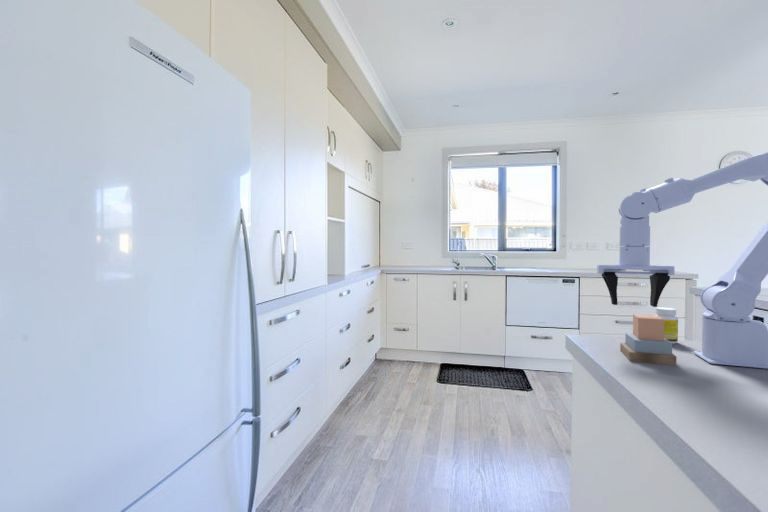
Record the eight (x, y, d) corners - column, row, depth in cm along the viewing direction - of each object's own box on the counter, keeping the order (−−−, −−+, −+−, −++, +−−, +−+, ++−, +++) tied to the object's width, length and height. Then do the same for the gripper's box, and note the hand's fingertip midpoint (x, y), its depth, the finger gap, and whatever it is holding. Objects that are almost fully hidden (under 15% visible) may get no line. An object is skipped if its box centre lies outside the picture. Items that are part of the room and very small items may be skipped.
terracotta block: (657, 336, 78) (657, 315, 78) (664, 341, 74) (664, 319, 73) (632, 334, 79) (633, 314, 79) (638, 338, 75) (638, 317, 75)
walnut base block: (662, 357, 79) (662, 346, 79) (676, 368, 71) (676, 356, 71) (620, 353, 82) (620, 342, 82) (629, 363, 74) (629, 352, 74)
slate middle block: (659, 346, 78) (659, 335, 78) (672, 354, 72) (672, 342, 72) (625, 343, 81) (625, 333, 81) (634, 351, 74) (634, 340, 74)
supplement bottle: (682, 344, 86) (682, 310, 86) (660, 343, 87) (660, 309, 87) (670, 339, 91) (670, 307, 91) (649, 338, 92) (650, 306, 92)
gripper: (601, 246, 80) (600, 305, 81) (680, 246, 75) (679, 310, 75) (595, 246, 87) (595, 301, 87) (668, 246, 82) (667, 304, 82)
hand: (633, 305), depth 82 cm, fingers open, 7 cm apart
